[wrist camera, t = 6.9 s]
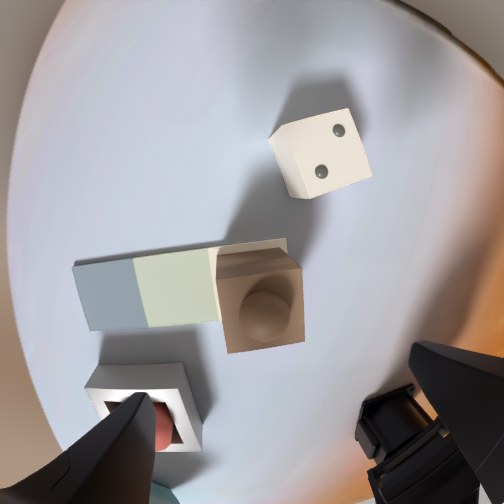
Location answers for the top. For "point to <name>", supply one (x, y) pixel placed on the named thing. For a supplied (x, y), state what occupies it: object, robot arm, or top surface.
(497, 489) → the robot arm
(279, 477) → the top surface
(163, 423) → the pink push button
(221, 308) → the cube with dome knob
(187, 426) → the button housing
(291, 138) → the die
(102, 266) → the mat
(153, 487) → the flower pot
